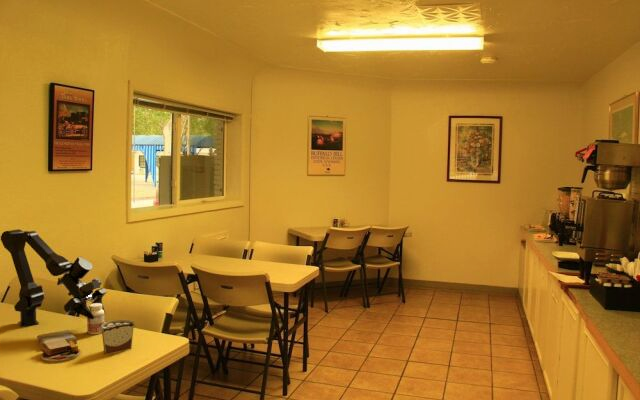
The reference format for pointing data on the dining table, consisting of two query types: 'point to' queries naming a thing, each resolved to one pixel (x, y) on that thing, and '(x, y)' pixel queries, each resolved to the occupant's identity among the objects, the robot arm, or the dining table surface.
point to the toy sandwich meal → (59, 350)
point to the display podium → (55, 335)
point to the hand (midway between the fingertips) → (98, 316)
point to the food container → (117, 335)
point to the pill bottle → (95, 318)
